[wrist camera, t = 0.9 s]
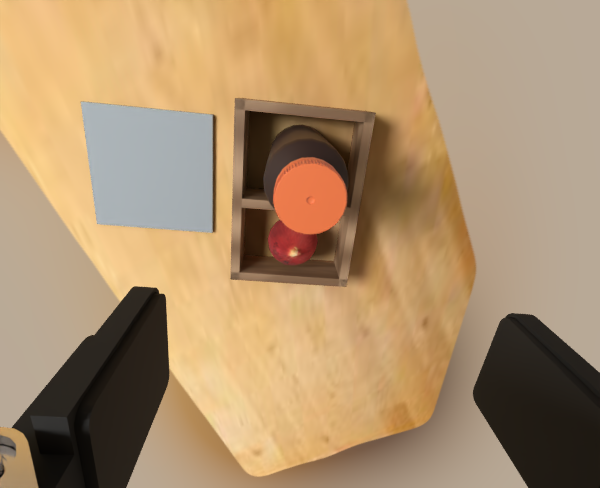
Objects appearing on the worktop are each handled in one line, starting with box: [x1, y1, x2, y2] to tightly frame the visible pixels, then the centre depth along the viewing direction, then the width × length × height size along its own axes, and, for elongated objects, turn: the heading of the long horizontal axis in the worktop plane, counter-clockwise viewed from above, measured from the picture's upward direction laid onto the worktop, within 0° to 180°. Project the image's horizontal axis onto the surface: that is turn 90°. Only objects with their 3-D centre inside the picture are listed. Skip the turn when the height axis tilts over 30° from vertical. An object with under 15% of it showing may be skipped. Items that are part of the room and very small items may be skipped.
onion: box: [268, 220, 318, 265], centre depth 41 cm, size 6×6×8 cm
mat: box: [81, 102, 213, 233], centre depth 41 cm, size 14×14×1 cm
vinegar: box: [263, 125, 348, 235], centre depth 32 cm, size 7×7×20 cm
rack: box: [231, 98, 376, 287], centre depth 40 cm, size 20×14×5 cm
